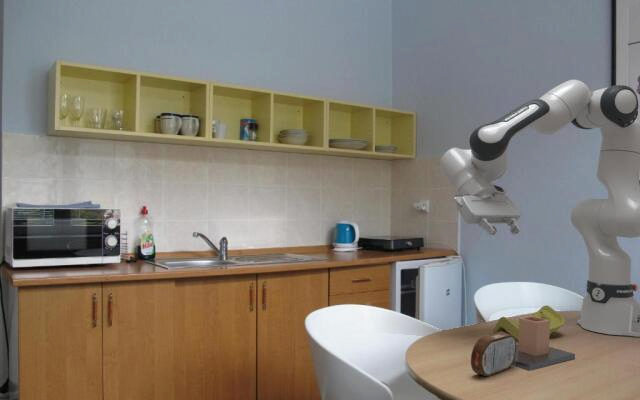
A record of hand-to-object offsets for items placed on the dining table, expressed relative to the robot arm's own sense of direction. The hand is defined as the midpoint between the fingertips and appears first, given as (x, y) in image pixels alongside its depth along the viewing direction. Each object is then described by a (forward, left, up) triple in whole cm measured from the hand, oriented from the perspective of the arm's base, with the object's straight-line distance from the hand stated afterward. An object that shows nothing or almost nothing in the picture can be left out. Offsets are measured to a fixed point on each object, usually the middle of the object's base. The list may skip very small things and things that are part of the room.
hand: (505, 233), depth 144 cm
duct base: (+4, +11, -29) cm, 32 cm away
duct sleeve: (+3, +11, -28) cm, 30 cm away
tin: (+21, +14, -30) cm, 39 cm away
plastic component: (-15, -2, -30) cm, 33 cm away
